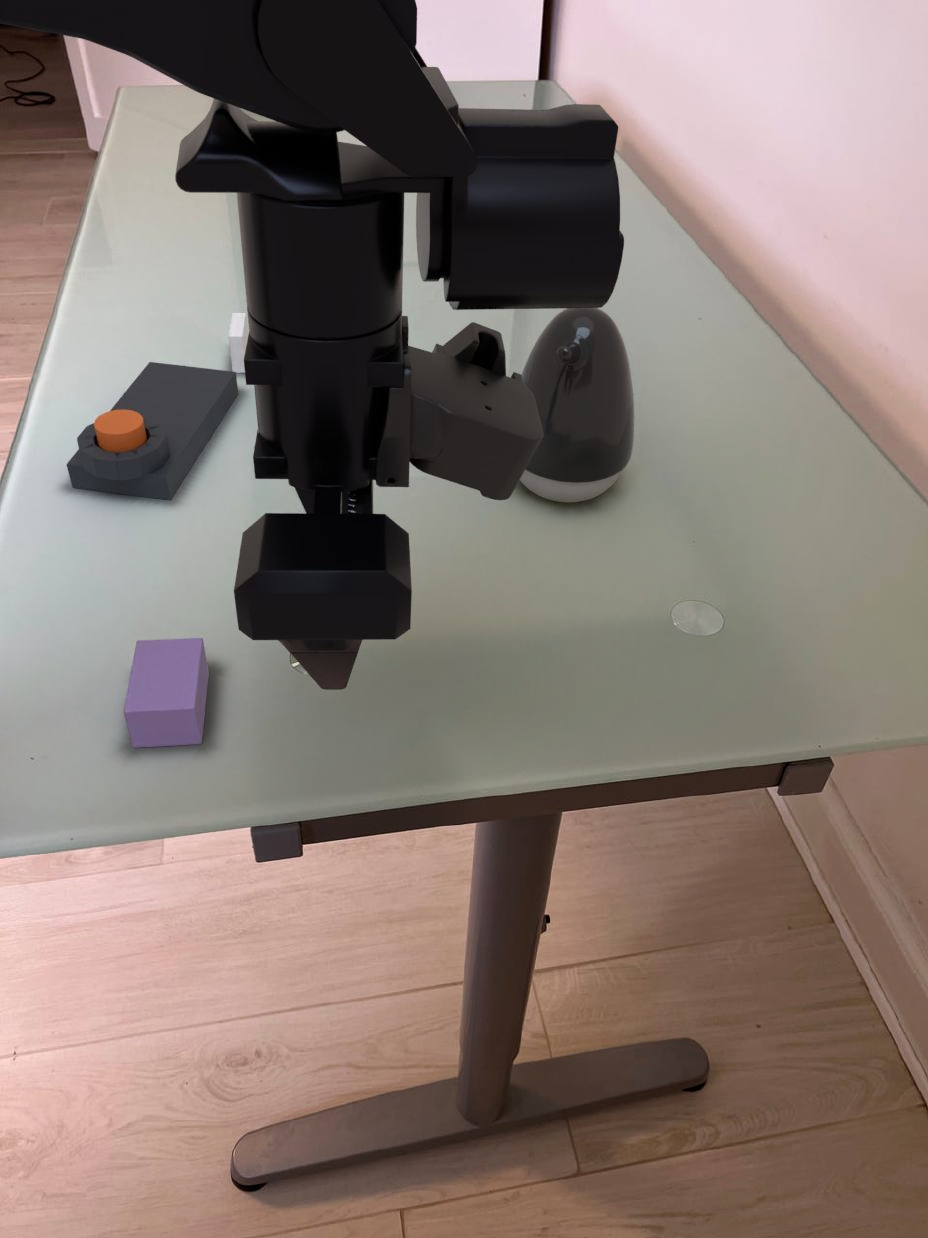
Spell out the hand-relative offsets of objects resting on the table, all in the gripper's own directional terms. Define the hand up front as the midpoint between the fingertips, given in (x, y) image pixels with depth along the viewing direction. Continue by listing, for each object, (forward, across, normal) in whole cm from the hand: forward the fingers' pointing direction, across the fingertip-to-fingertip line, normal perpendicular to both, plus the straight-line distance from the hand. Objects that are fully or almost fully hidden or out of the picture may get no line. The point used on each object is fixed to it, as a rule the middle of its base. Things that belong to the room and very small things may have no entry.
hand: (336, 617), depth 47 cm
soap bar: (+14, +7, +11) cm, 19 cm away
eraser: (+14, +52, +11) cm, 55 cm away
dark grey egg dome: (+14, +32, -17) cm, 39 cm away
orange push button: (+11, +32, +17) cm, 38 cm away
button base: (+14, +39, +16) cm, 44 cm away
